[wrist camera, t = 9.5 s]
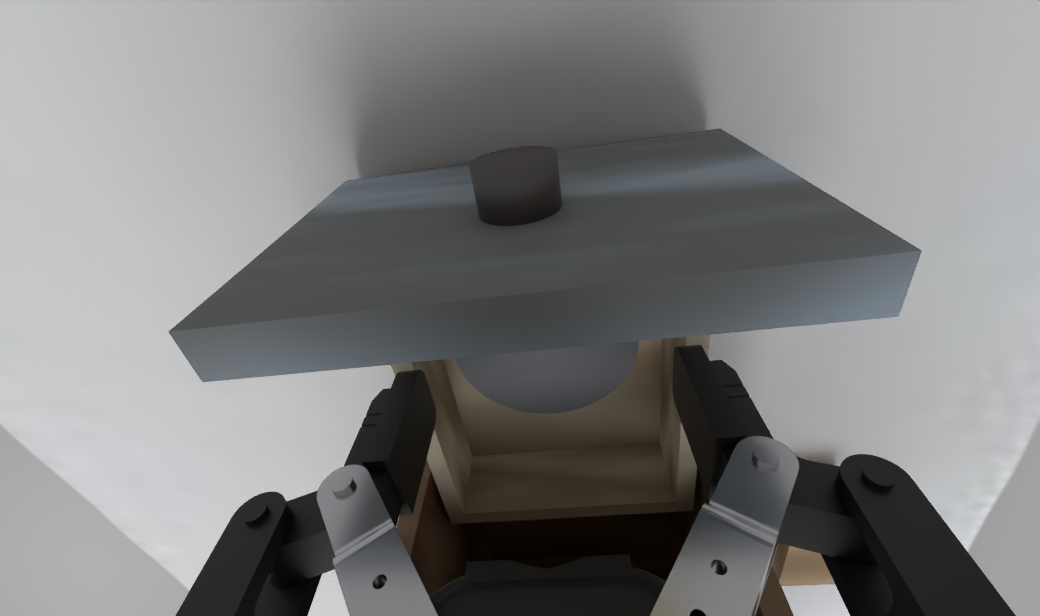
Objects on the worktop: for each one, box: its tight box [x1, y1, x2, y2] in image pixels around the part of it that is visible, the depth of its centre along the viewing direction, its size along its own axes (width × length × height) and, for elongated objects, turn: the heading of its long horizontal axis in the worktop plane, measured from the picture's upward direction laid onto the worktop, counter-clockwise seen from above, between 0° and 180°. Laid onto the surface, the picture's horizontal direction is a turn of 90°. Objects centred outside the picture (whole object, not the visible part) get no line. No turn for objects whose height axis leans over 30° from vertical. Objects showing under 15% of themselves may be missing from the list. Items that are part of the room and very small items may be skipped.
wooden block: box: [772, 465, 835, 586], centre depth 24 cm, size 4×4×4 cm
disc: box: [455, 341, 639, 414], centre depth 17 cm, size 6×6×2 cm
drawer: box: [169, 129, 921, 524], centre depth 15 cm, size 15×12×9 cm
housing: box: [396, 459, 794, 616], centre depth 21 cm, size 14×12×12 cm
